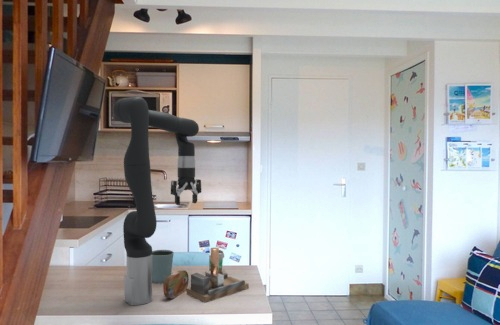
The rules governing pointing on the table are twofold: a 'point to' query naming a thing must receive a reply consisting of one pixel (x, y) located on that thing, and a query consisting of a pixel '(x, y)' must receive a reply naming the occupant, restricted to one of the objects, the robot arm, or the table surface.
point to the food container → (221, 256)
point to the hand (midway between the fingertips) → (186, 203)
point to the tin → (175, 284)
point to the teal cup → (161, 265)
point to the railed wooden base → (205, 294)
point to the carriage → (215, 270)
